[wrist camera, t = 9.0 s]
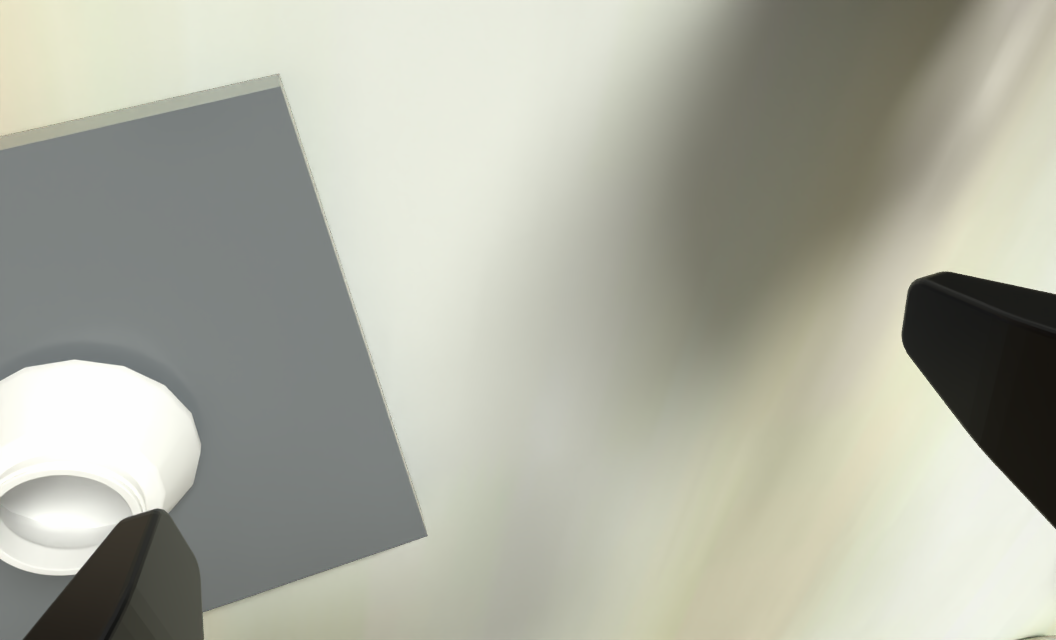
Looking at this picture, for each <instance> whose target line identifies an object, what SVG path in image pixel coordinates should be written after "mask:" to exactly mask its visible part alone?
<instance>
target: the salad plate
mask: <svg viewBox="0 0 1056 640" xmlns="http://www.w3.org/2000/svg"><path fill="white" fill-rule="evenodd" d="M1022 640H1056V635H1053V636H1044V637H1035V638H1029V639H1022Z"/></svg>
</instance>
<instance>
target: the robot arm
mask: <svg viewBox="0 0 1056 640" xmlns="http://www.w3.org/2000/svg"><path fill="white" fill-rule="evenodd" d="M902 342H903V345H904V348H905V350H906V352H907V354H908V355H909V357H910V358H911V359H912V360H913V362H914V363H915V364H916V366H917V367H918V368H919V370H920V371H921V372H922V374H923V375H924V376H925V377H926V379H927V380H928V381H929V383H930V384H931V385H932V387H933V388H934V389H935V391H936V392H937V393H938V394H939V396H940V397H941V398H942V400H943V401H944V402H945V404H946V405H947V406H948V408H949V409H950V410H951V411H952V413H953V414H954V415H955V417H956V418H957V419H958V421H959V422H960V423H961V425H962V426H963V427H964V428H965V430H966V431H967V432H968V434H969V435H970V436H971V437H972V438H973V440H974V441H975V442H976V443H977V445H978V446H979V447H980V448H981V449H982V450H983V452H984V453H985V454H986V455H987V456H988V457H989V458H990V459H991V461H992V462H993V463H994V464H995V465H996V466H997V467H998V468H999V469H1000V470H1001V471H1002V472H1003V473H1004V474H1005V476H1006V477H1007V478H1008V479H1009V480H1010V481H1011V482H1012V483H1013V484H1014V485H1015V486H1016V487H1017V488H1018V489H1019V490H1020V492H1021V493H1022V494H1023V495H1024V496H1025V497H1026V498H1027V499H1028V500H1029V501H1030V502H1031V503H1032V504H1033V505H1034V506H1035V508H1036V509H1037V510H1038V511H1039V512H1040V513H1041V514H1042V515H1043V516H1044V517H1045V518H1046V519H1047V520H1048V521H1049V522H1050V523H1051V525H1052V526H1053V527H1054V528H1055V529H1056V294H1052V293H1047V292H1043V291H1038V290H1033V289H1028V288H1024V287H1019V286H1014V285H1010V284H1005V283H1000V282H995V281H991V280H986V279H981V278H976V277H972V276H967V275H962V274H958V273H953V272H939V273H935V274H932V275H929V276H925V277H922V278H919V279H916V280H915V281H913V282H912V284H911V285H910V287H909V289H908V293H907V300H906V306H905V313H904V320H903V327H902ZM22 640H204V631H203V612H202V593H201V576H200V570H199V566H198V562H197V560H196V557H195V555H194V554H193V552H192V550H191V549H190V547H189V545H188V544H187V542H186V541H185V539H184V537H183V536H182V534H181V532H180V531H179V529H178V527H177V526H176V524H175V522H174V521H173V519H172V518H171V516H170V515H169V514H168V513H167V512H166V511H165V510H163V509H159V508H156V509H152V510H149V511H146V512H142V513H139V514H136V515H132V516H129V517H126V518H124V519H122V520H121V521H120V522H119V523H118V524H117V525H116V526H115V527H114V528H113V530H112V531H111V532H110V533H109V534H108V536H107V537H106V538H105V539H104V541H103V542H102V543H101V544H100V545H99V547H98V548H97V549H96V550H95V552H94V553H93V554H92V555H91V556H90V558H89V559H88V560H87V561H86V563H85V564H84V565H83V566H82V567H81V569H80V570H79V571H78V572H77V574H76V575H75V576H74V577H73V578H72V580H71V581H70V582H69V583H68V585H67V586H66V587H65V588H64V589H63V591H62V592H61V593H60V594H59V596H58V597H57V598H56V599H55V600H54V602H53V603H52V604H51V605H50V606H49V608H48V609H47V610H46V611H45V613H44V614H43V615H42V616H41V617H40V619H39V620H38V621H37V622H36V624H35V625H34V626H33V627H32V628H31V630H30V631H29V632H28V633H27V635H26V636H25V637H24V638H23V639H22Z"/></svg>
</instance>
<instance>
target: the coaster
mask: <svg viewBox="0 0 1056 640" xmlns="http://www.w3.org/2000/svg"><path fill="white" fill-rule="evenodd" d="M74 359H75V360H82V361H90V362H97V363H104V364H112V365H119V366H125V367H127V368H129V369H131V370H133V371H135V372H138V373H140V374H142V375H144V376H146V377H148V378H150V379H152V380H155V381H157V382H159V383H161V384H163V385H165V386H166V387H167V388H168V389H169V390H170V391H171V392H172V393H173V394H174V395H175V396H176V397H177V399H178V400H179V401H180V402H181V403H182V404H183V405H184V406H185V407H186V408H187V409H188V410H189V411H190V412H191V413H192V416H193V420H194V423H195V426H196V429H197V432H198V436H199V439H200V442H201V452H200V457H199V461H198V466H197V470H196V474H195V479H194V483H193V485H192V486H191V488H190V489H189V490H188V491H187V492H186V493H185V495H184V496H183V497H182V498H181V499H180V501H179V502H178V503H177V504H176V505H175V506H174V508H173V509H172V510H171V511H170V512H169V513H168V514H169V515H170V516H171V518H172V519H173V521H174V522H175V524H176V526H177V527H178V529H179V531H180V532H181V534H182V536H183V537H184V539H185V541H186V542H187V544H188V545H189V547H190V549H191V550H192V552H193V554H194V555H195V557H196V560H197V562H198V566H199V570H200V576H201V593H202V612H206V611H209V610H211V609H214V608H217V607H220V606H223V605H226V604H229V603H232V602H235V601H238V600H241V599H244V598H247V597H250V596H253V595H256V594H259V593H261V592H264V591H267V590H270V589H273V588H276V587H279V586H282V585H285V584H288V583H291V582H294V581H297V580H300V579H303V578H306V577H308V576H311V575H314V574H317V573H320V572H323V571H326V570H329V569H332V568H335V567H338V566H341V565H344V564H347V563H350V562H353V561H355V560H358V559H361V558H364V557H367V556H370V555H373V554H376V553H379V552H382V551H385V550H388V549H391V548H394V547H397V546H400V545H402V544H405V543H408V542H411V541H414V540H417V539H420V538H423V537H426V536H427V532H426V528H425V524H424V520H423V516H422V512H421V508H420V505H419V502H418V499H417V496H416V493H415V490H414V487H413V484H412V481H411V478H410V474H409V471H408V468H407V465H406V462H405V459H404V456H403V453H402V450H401V447H400V444H399V441H398V438H397V434H396V431H395V428H394V425H393V422H392V419H391V416H390V413H389V410H388V407H387V404H386V401H385V398H384V394H383V391H382V388H381V385H380V382H379V379H378V376H377V373H376V370H375V367H374V364H373V361H372V358H371V354H370V351H369V348H368V345H367V342H366V339H365V336H364V333H363V330H362V327H361V324H360V321H359V318H358V314H357V311H356V308H355V305H354V302H353V299H352V296H351V293H350V290H349V287H348V284H347V281H346V278H345V275H344V271H343V268H342V265H341V262H340V259H339V256H338V253H337V250H336V247H335V244H334V241H333V238H332V235H331V231H330V228H329V225H328V222H327V219H326V216H325V213H324V210H323V207H322V204H321V201H320V198H319V195H318V191H317V188H316V185H315V182H314V179H313V176H312V173H311V170H310V167H309V164H308V161H307V158H306V155H305V151H304V148H303V145H302V142H301V139H300V136H299V133H298V130H297V127H296V124H295V121H294V118H293V115H292V111H291V108H290V105H289V102H288V99H287V96H286V93H285V90H284V87H283V84H282V81H281V78H280V75H279V74H276V75H271V76H267V77H262V78H258V79H253V80H249V81H245V82H240V83H236V84H231V85H227V86H222V87H218V88H213V89H209V90H205V91H200V92H196V93H191V94H187V95H182V96H178V97H173V98H169V99H165V100H160V101H156V102H151V103H147V104H142V105H138V106H134V107H129V108H125V109H120V110H116V111H111V112H107V113H102V114H98V115H94V116H89V117H85V118H80V119H76V120H71V121H67V122H63V123H58V124H54V125H49V126H45V127H40V128H36V129H31V130H27V131H23V132H18V133H14V134H9V135H5V136H0V381H1V380H3V379H5V378H6V377H8V376H10V375H12V374H14V373H16V372H18V371H19V370H21V369H23V368H25V367H31V366H37V365H43V364H49V363H56V362H62V361H68V360H74ZM75 575H76V574H75ZM75 575H64V576H55V575H43V574H37V573H32V572H28V571H25V570H22V569H19V568H16V567H14V566H12V565H10V564H8V563H6V562H4V561H3V560H1V559H0V640H22V639H23V638H24V637H25V636H26V635H27V633H28V632H29V631H30V630H31V628H32V627H33V626H34V625H35V624H36V622H37V621H38V620H39V619H40V617H41V616H42V615H43V614H44V613H45V611H46V610H47V609H48V608H49V606H50V605H51V604H52V603H53V602H54V600H55V599H56V598H57V597H58V596H59V594H60V593H61V592H62V591H63V589H64V588H65V587H66V586H67V585H68V583H69V582H70V581H71V580H72V578H73V577H74V576H75Z"/></svg>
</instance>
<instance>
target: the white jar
mask: <svg viewBox="0 0 1056 640" xmlns="http://www.w3.org/2000/svg"><path fill="white" fill-rule="evenodd" d="M200 452H201V442H200V439H199V436H198V432H197V429H196V426H195V423H194V420H193V416H192V413H191V412H190V411H189V410H188V409H187V408H186V407H185V406H184V405H183V404H182V403H181V402H180V401H179V400H178V399H177V397H176V396H175V395H174V394H173V393H172V392H171V391H170V390H169V389H168V388H167V387H166V386H165V385H163V384H161V383H159V382H157V381H155V380H152V379H150V378H148V377H146V376H144V375H142V374H140V373H138V372H135V371H133V370H131V369H129V368H127V367H125V366H119V365H112V364H104V363H97V362H90V361H82V360H75V359H74V360H68V361H62V362H56V363H49V364H43V365H37V366H31V367H25V368H23V369H21V370H19V371H18V372H16V373H14V374H12V375H10V376H8V377H6V378H5V379H3V380H1V381H0V559H1V560H3V561H4V562H6V563H8V564H10V565H12V566H14V567H16V568H19V569H22V570H25V571H28V572H32V573H37V574H43V575H55V576H64V575H75V574H77V572H78V571H79V570H80V569H81V567H82V566H83V565H84V564H85V563H86V561H87V560H88V559H89V558H90V556H91V555H92V554H93V553H94V552H95V550H96V549H97V548H98V547H99V545H100V544H101V543H102V542H103V541H104V539H105V538H106V537H107V536H108V534H109V533H110V532H111V531H112V530H113V528H114V527H115V526H116V525H117V524H118V523H119V522H120V521H121V520H122V519H124V518H126V517H129V516H132V515H136V514H139V513H142V512H146V511H149V510H152V509H156V508H159V509H163V510H165V511H166V512H167V513H169V512H170V511H171V510H172V509H173V508H174V506H175V505H176V504H177V503H178V502H179V501H180V499H181V498H182V497H183V496H184V495H185V493H186V492H187V491H188V490H189V489H190V488H191V486H192V485H193V483H194V479H195V474H196V470H197V466H198V461H199V457H200Z"/></svg>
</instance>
